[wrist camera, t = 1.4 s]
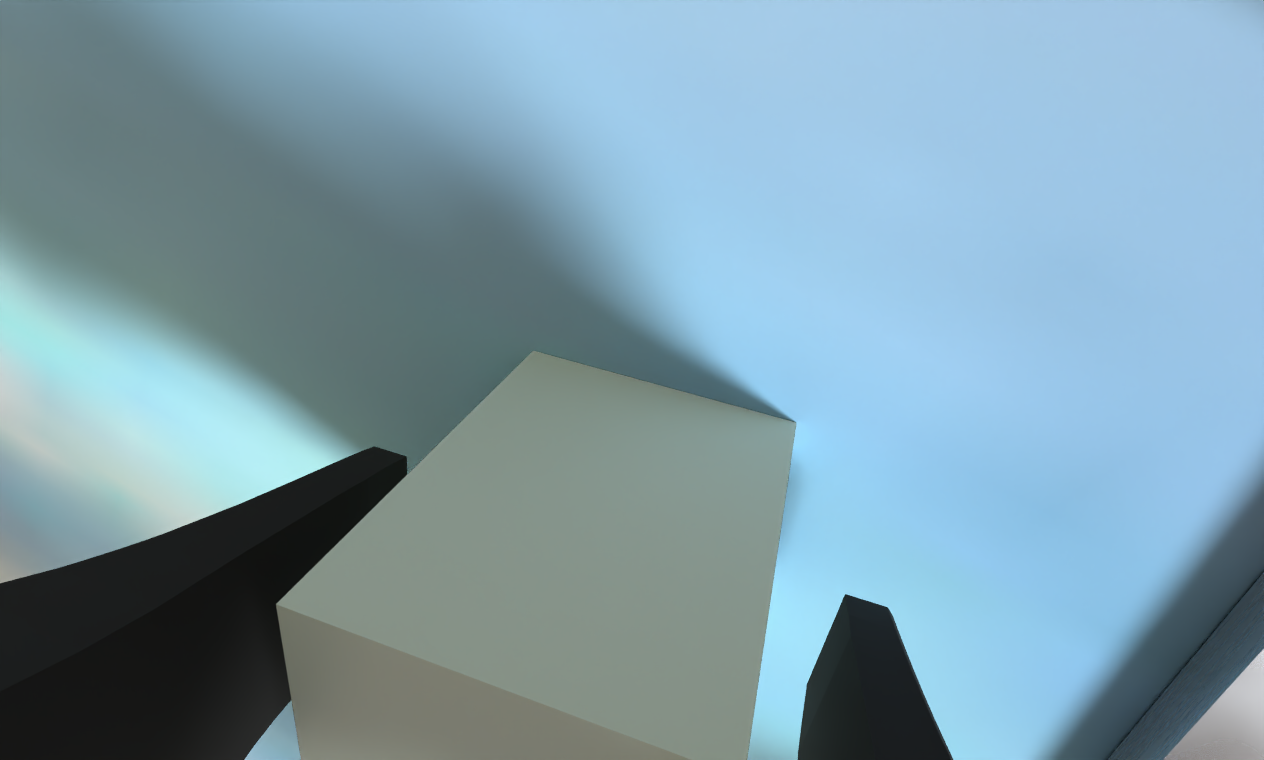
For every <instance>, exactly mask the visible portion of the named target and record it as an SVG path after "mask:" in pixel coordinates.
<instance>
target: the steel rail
mask: <svg viewBox="0 0 1264 760" xmlns="http://www.w3.org/2000/svg"><path fill="white" fill-rule="evenodd" d="M1107 760H1264V572H1263V574H1262V575H1261V576H1260V577H1259V578H1258V580H1257V581H1256V582H1255V583H1254V584H1253V586H1252V587H1251V588H1250V589H1249V590H1248V592H1247V593H1246V594H1245V595H1244V596H1243V598H1242V599H1241V600H1240V601H1239V602H1238V604H1237V605H1236V606H1235V607H1234V608H1233V610H1232V611H1231V612H1230V613H1229V614H1228V616H1227V617H1226V618H1225V619H1224V620H1223V621H1222V623H1221V624H1220V625H1219V626H1218V627H1217V629H1216V630H1215V631H1214V632H1213V633H1212V635H1211V636H1210V637H1209V638H1208V639H1207V641H1206V642H1205V643H1204V644H1203V645H1202V647H1201V648H1200V649H1199V650H1198V651H1197V653H1196V654H1195V655H1194V656H1193V657H1192V659H1191V660H1190V661H1189V662H1188V663H1187V665H1186V666H1185V667H1184V668H1183V669H1182V671H1181V672H1180V673H1179V674H1178V675H1177V677H1176V678H1175V679H1174V680H1173V681H1172V683H1171V684H1170V685H1169V686H1168V687H1167V689H1166V690H1165V691H1164V692H1163V693H1162V695H1161V696H1160V697H1159V698H1158V699H1157V701H1156V702H1155V703H1154V704H1153V705H1152V707H1151V708H1150V709H1149V710H1148V711H1147V713H1146V714H1145V715H1144V716H1143V717H1142V719H1141V720H1140V721H1139V722H1138V723H1137V725H1136V726H1135V727H1134V728H1133V729H1132V730H1131V732H1130V733H1129V734H1128V735H1127V736H1126V738H1125V739H1124V740H1123V741H1122V742H1121V744H1120V745H1119V746H1118V747H1117V748H1116V750H1115V751H1114V752H1113V753H1112V754H1111V756H1110V757H1109V758H1108V759H1107Z"/></svg>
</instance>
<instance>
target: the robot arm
mask: <svg viewBox="0 0 1264 760" xmlns="http://www.w3.org/2000/svg"><path fill="white" fill-rule="evenodd" d="M406 475H407V457H406V456H403V455H400V454H397V453H394V452H390V451H387V450H384V449H381V448H378V447H372V448H369V449H366V450H364V451H361V452H359V453H356V454H354V455H352V456H349V457H347V458H344V459H342V460H340V461H338V462H335V463H333V464H331V465H328V466H326V467H324V468H322V469H319V470H317V471H315V472H313V473H310V474H308V475H306V476H303V477H301V478H299V479H297V480H294V481H292V482H290V483H287V484H285V485H283V486H281V487H278V488H276V489H274V490H271V491H269V492H267V493H264V494H262V495H260V496H257V497H255V498H253V499H250V500H248V501H246V502H243V503H241V504H239V505H236V506H234V507H231V508H228V509H226V510H223V511H221V512H218V513H216V514H213V515H211V516H208V517H205V518H203V519H200V520H198V521H195V522H193V523H190V524H188V525H185V526H182V527H180V528H177V529H175V530H172V531H170V532H167V533H164V534H162V535H159V536H156V537H153V538H150V539H148V540H145V541H142V542H139V543H136V544H133V545H130V546H127V547H124V548H121V549H118V550H115V551H112V552H109V553H106V554H102V555H99V556H96V557H93V558H90V559H87V560H84V561H80V562H77V563H74V564H71V565H67V566H64V567H60V568H57V569H53V570H49V571H46V572H42V573H38V574H34V575H31V576H27V577H23V578H19V579H15V580H12V581H8V582H4V583H0V760H244V759H245V758H246V756H247V755H248V754H249V752H250V751H251V749H252V748H253V746H254V745H255V744H256V742H257V741H258V740H259V739H260V737H261V736H262V735H263V734H264V732H265V731H266V730H267V728H268V727H269V726H270V725H271V723H272V722H273V721H274V720H275V718H276V717H277V716H278V715H279V713H280V712H281V711H282V710H283V709H284V708H285V706H286V705H287V704H288V703H289V702H290V701H291V694H290V688H289V682H288V675H287V669H286V663H285V657H284V651H283V645H282V638H281V632H280V626H279V620H278V614H277V608H276V604H277V603H278V602H279V601H280V600H281V599H282V598H283V597H284V596H285V595H286V594H287V593H288V592H289V591H290V590H291V589H292V588H293V587H294V586H295V585H296V584H297V583H298V582H299V581H300V580H301V579H302V578H303V577H304V576H305V575H306V574H307V573H308V572H309V571H310V570H311V569H312V568H313V567H314V566H315V565H316V564H317V563H318V562H319V561H320V560H321V559H322V558H323V557H324V556H325V555H326V554H327V553H328V552H329V551H330V550H331V549H332V548H333V547H334V546H335V545H337V544H338V543H339V542H340V541H341V540H342V539H343V538H344V537H345V536H346V535H347V534H348V533H349V532H350V531H351V530H352V529H353V528H354V527H355V526H356V525H357V524H358V523H359V522H360V521H361V520H362V519H363V518H364V517H365V516H366V515H367V514H368V513H369V512H370V511H371V510H372V509H373V508H374V507H375V506H376V505H377V504H378V503H379V502H380V501H381V500H382V499H383V498H384V497H385V496H386V495H387V494H388V493H389V492H390V491H391V490H392V489H393V488H394V487H395V486H396V485H397V484H398V483H399V482H400V481H401V480H402V479H403V478H404V477H405V476H406ZM798 760H953V758H952V756H951V754H950V752H949V749H948V747H947V745H946V743H945V741H944V739H943V736H942V734H941V732H940V730H939V728H938V726H937V723H936V721H935V719H934V717H933V714H932V712H931V710H930V708H929V705H928V703H927V701H926V698H925V696H924V694H923V691H922V689H921V686H920V684H919V682H918V679H917V677H916V675H915V672H914V670H913V667H912V665H911V662H910V660H909V657H908V655H907V652H906V650H905V647H904V644H903V642H902V639H901V637H900V634H899V631H898V629H897V626H896V623H895V621H894V618H893V616H892V614H891V612H890V610H889V609H888V607H885V606H881V605H878V604H875V603H872V602H869V601H865V600H862V599H859V598H856V597H853V596H850V595H846V594H845V596H844V598H843V601H842V603H841V605H840V608H839V610H838V612H837V615H836V617H835V620H834V622H833V624H832V627H831V629H830V631H829V634H828V636H827V638H826V641H825V643H824V645H823V648H822V650H821V653H820V655H819V657H818V660H817V662H816V664H815V667H814V669H813V671H812V674H811V676H810V678H809V681H808V683H807V689H806V696H805V703H804V710H803V718H802V725H801V734H800V742H799V750H798Z"/></svg>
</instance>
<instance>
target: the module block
mask: <svg viewBox="0 0 1264 760" xmlns="http://www.w3.org/2000/svg"><path fill="white" fill-rule="evenodd" d="M795 430H796V422H792V421H789V420H785V419H781V418H778V417H774V416H770V415H767V414H763V413H759V412H756V411H752V410H749V409H745V408H741V407H738V406H734V405H730V404H727V403H723V402H719V401H716V400H712V399H708V398H705V397H701V396H697V395H694V394H690V393H686V392H683V391H679V390H675V389H672V388H668V387H664V386H661V385H657V384H654V383H650V382H646V381H643V380H639V379H635V378H632V377H628V376H624V375H621V374H617V373H613V372H610V371H606V370H602V369H599V368H595V367H591V366H588V365H584V364H580V363H577V362H573V361H569V360H566V359H562V358H558V357H555V356H551V355H548V354H544V353H540V352H537V351H532V352H531V353H530V354H529V355H528V356H527V357H526V358H525V359H524V360H523V361H522V362H521V363H520V364H519V365H518V366H517V367H516V368H515V369H514V370H513V371H512V372H511V373H510V374H509V375H508V376H507V377H506V378H505V379H504V380H503V381H502V382H501V383H500V384H499V385H498V386H497V387H496V388H495V389H494V390H493V391H492V392H491V393H490V394H489V395H488V396H487V397H486V398H485V399H484V400H483V401H482V402H481V403H479V404H478V405H477V406H476V407H475V408H474V409H473V410H472V411H471V412H470V413H469V414H468V415H467V416H466V417H465V418H464V419H463V420H462V421H461V422H460V423H459V424H458V425H457V426H456V427H455V428H454V429H453V430H452V431H451V432H450V433H449V434H448V435H447V436H446V437H445V438H444V439H443V440H442V441H441V442H440V443H439V444H438V445H437V446H436V447H435V448H434V449H433V450H432V451H431V452H430V453H429V454H428V455H427V456H426V457H425V458H424V459H423V460H422V461H421V462H420V463H419V464H418V465H417V466H416V467H415V468H414V469H413V470H412V471H411V472H410V473H409V474H407V475H406V476H405V477H404V478H403V479H402V480H401V481H400V482H399V483H398V484H397V485H396V486H395V487H394V488H393V489H392V490H391V491H390V492H389V493H388V494H387V495H386V496H385V497H384V498H383V499H382V500H381V501H380V502H379V503H378V504H377V505H376V506H375V507H374V508H373V509H372V510H371V511H370V512H369V513H368V514H367V515H366V516H365V517H364V518H363V519H362V520H361V521H360V522H359V523H358V524H357V525H356V526H355V527H354V528H353V529H352V530H351V531H350V532H349V533H348V534H347V535H346V536H345V537H344V538H343V539H342V540H341V541H340V542H339V543H338V544H337V545H335V546H334V547H333V548H332V549H331V550H330V551H329V552H328V553H327V554H326V555H325V556H324V557H323V558H322V559H321V560H320V561H319V562H318V563H317V564H316V565H315V566H314V567H313V568H312V569H311V570H310V571H309V572H308V573H307V574H306V575H305V576H304V577H303V578H302V579H301V580H300V581H299V582H298V583H297V584H296V585H295V586H294V587H293V588H292V589H291V590H290V591H289V592H288V593H287V594H286V595H285V596H284V597H283V598H282V599H281V600H280V601H279V602H278V603H277V604H276V608H277V614H278V620H279V626H280V632H281V638H282V645H283V651H284V657H285V663H286V669H287V675H288V682H289V688H290V694H291V700H292V706H293V712H294V719H295V725H296V731H297V737H298V743H299V749H300V756H301V760H747V757H748V750H749V743H750V736H751V729H752V722H753V716H754V709H755V702H756V695H757V688H758V682H759V675H760V668H761V661H762V654H763V648H764V641H765V634H766V627H767V620H768V613H769V607H770V600H771V593H772V586H773V579H774V573H775V566H776V559H777V552H778V545H779V539H780V532H781V525H782V518H783V511H784V504H785V498H786V491H787V484H788V477H789V470H790V464H791V457H792V450H793V443H794V436H795Z"/></svg>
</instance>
